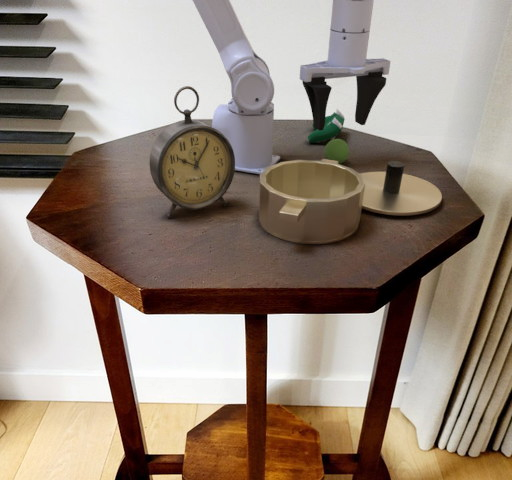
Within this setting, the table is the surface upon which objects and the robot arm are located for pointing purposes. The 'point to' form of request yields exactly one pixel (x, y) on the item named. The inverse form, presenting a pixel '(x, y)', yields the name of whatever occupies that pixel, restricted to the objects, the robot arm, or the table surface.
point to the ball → (337, 150)
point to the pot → (310, 201)
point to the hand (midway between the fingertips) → (339, 125)
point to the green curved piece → (328, 128)
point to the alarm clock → (192, 162)
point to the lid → (398, 192)
